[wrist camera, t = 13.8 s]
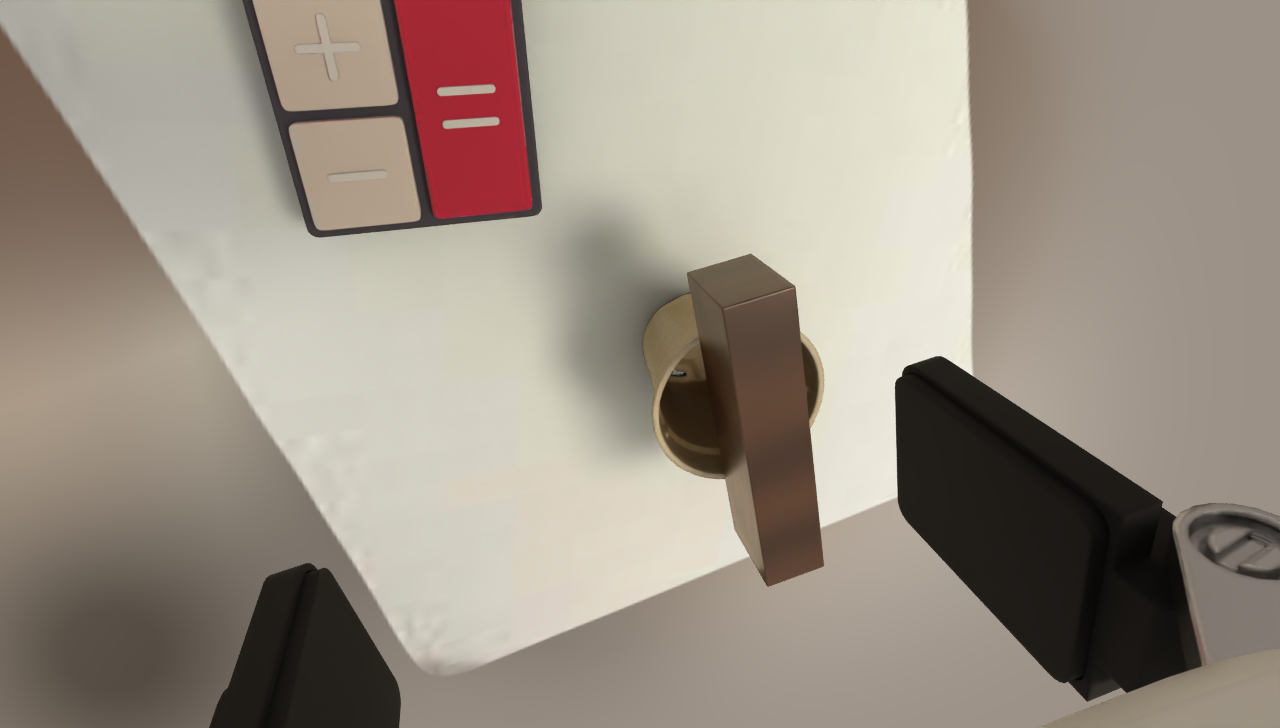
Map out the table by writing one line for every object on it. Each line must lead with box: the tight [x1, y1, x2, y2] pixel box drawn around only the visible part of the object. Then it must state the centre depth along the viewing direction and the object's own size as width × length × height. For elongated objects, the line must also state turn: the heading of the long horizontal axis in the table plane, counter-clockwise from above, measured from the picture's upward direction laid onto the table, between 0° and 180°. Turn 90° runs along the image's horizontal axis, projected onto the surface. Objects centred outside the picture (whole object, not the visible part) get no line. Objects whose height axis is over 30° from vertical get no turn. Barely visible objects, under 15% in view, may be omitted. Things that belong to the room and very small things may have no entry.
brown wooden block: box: [687, 254, 824, 587], centre depth 33 cm, size 16×3×5 cm, turn 12°
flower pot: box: [643, 294, 824, 479], centre depth 38 cm, size 9×9×9 cm
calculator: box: [242, 0, 542, 237], centre depth 30 cm, size 11×4×15 cm
